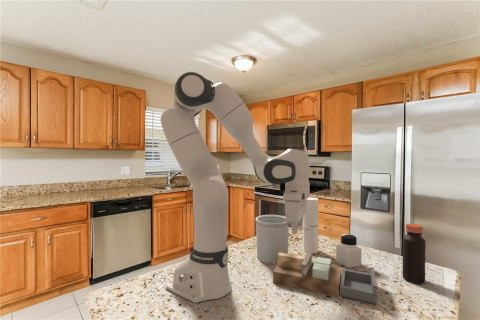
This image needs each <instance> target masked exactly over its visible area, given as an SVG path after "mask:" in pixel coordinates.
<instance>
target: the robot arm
mask: <svg viewBox="0 0 480 320" xmlns="http://www.w3.org/2000/svg"><path fill="white" fill-rule="evenodd" d="M173 99H174V103H173V104H174V105H172V107H169V108H167V109H166V110H164V111H163V112H162V114H161V115H160V119H159V120H160V124H161V128H162V131H163V133H164V136H165V139H166V141H167V143H168V146H169V147H170V150H171V151H172V153H173V155H174V158H175V159H176V162H177V163H178V165H179V168H180V169H181V170H182V172H183V173H184V175H185V176H186V178H187V179H188V181H189V183H190V185H191V187H192V188H193V189H192V207H193V208H192V211H193V243H194V244H193V245H192V246H191V247H190V248H188V249H187V254H189V256H188V257H187V258H185V260H183V261H182V262H181V263H180V264H178V265H177V266H176V267H175V269H174V270H173V271H174V273H173V276H172V277H171V278H170V279H169V280H168V281H167V283H166V285H165V289H166V290H168V291H170V292H172V293H175V294H176V295H178V296H180V297H183V298H184V299H186V300H188V301H190V302H192V303H200V302H201V303H202V302H203V301H209V300H215V299H216V300H217V299H219V298H220V299H221V298H223V297H225V296H226V295H228V294H229V293H230V292H231V290H232V284H231V279H230V275H229V269H228V267H229V266H228V262H229V246H228V245H227V244H228V233H227V232H228V207H229V206H228V204H229V203H228V200H229V190H228V189H229V188H228V186H227V184H226V182H225V180H224V178H223V175H222V173H221V172H220V170H219V168H218V165H217V164H216V162H215V159H214V157H213V155H212V154H211V152H210V149H209V148H208V145H207V144H206V141H205V139H204V137H203V135H202V133H201V132H200V129H199V127H198V125H197V123H196V121H195V117H196V116H197V115H199V114H200V113H201V112H202V111H203V109H204V110H207V111H209V112H211V113H212V114H213V115H214V117H215V119H216V120H217V121H218V123H219V124H220V125H221V127H222V128H223V130H224V131H226V132H227V133H228V134H229V135H230V136H231V137H232V138H233V139H234V140H235V141H236V142H237V143H238V145H240V147H241V148H242V150H243V152H244V153H245V154H246V156H247V157H248V159H249V160H250V162H251V163H252V165H253V170H254V174H255V176H256V178H257V179H258V180H259V181H260V182H262V183H267V184H270V185H275V186H277V185H282V184H284V185H285V186H284V188H285V189H284V193H283V195H282V200H283V201H285V202H284V213H285V214H284V216H285V218H286V222H287V223H289V225H290V228H291V234H292V235H297V234H298V232H299V231H298V229H299V228H303V218H304V214H305V213H306V212H307V198H309V197H310V194H311V193H310V186H311V185H310V180H309V178H310V177H309V176H310V174H311V173H310V159H309V154H308V152H307V151H306V150H304V149H300V148H291V147H290V148H287V149H286V150H285V151H284V152H282V153H280V154H278V155H276V156H273V157H270V156H268V155H267V154H266V152H265V151H264V149H263V148H262V147H261V145H260V143H259V142H258V141H257V139H256V137H255V135H254V118H253V115H252V113H251V111H250V110H249V108H248V106H247V105H246V104H245V102H244V101H243V100H242V98H241V97H240V96H239V94H238V93H237V92H236V91H235V90H234V89H233V88H232V87H231V86H229V84H227V83H225V82H218V83H215V84H214V83H213V81H212V80H209V79H208V78H206V77H204V76H203V75H202V74H200V73H197V72H195V71H188V72H187V71H186V72H185V73H183V74H181V75H180V76H179V77H178V78H177V80H176V82H175V84H174V92H173ZM298 227H299V228H298Z"/></svg>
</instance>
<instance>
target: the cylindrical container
mask: <svg viewBox="0 0 480 320" xmlns="http://www.w3.org/2000/svg"><path fill="white" fill-rule="evenodd" d="M302 251H303V252H304V253H306V254H307V253H308V252H310V253H312V254H318V253H319V198H317V197H309V198H307V212H306V213H305V214H304V218H303V226H302Z"/></svg>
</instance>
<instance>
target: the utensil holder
mask: <svg viewBox="0 0 480 320" xmlns="http://www.w3.org/2000/svg"><path fill="white" fill-rule="evenodd" d="M255 225H256V227H255V231H256V232H255V233H256V235H255V236H256V256H257V257H256V258H257V259H258V260H259V261H260V262H263V263H265V264H271V265H272V264H273V265H277V255H278V253H279V252H283V253H289V225H290V223H287V222H286V218H285V215H278V214H262V215H258V216H256V217H255Z"/></svg>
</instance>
